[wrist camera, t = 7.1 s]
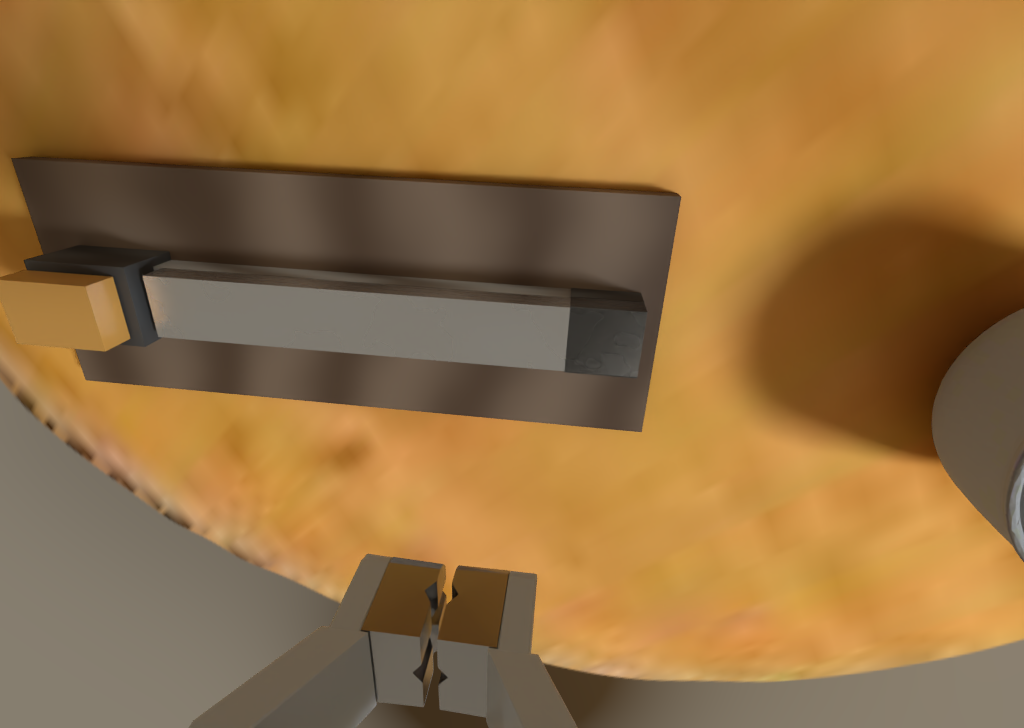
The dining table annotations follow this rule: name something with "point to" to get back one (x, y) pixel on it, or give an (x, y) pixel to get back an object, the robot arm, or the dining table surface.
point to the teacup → (987, 426)
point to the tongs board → (355, 273)
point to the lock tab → (63, 310)
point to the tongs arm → (400, 321)
